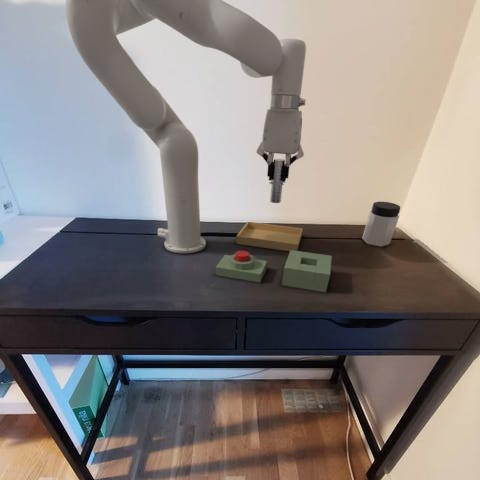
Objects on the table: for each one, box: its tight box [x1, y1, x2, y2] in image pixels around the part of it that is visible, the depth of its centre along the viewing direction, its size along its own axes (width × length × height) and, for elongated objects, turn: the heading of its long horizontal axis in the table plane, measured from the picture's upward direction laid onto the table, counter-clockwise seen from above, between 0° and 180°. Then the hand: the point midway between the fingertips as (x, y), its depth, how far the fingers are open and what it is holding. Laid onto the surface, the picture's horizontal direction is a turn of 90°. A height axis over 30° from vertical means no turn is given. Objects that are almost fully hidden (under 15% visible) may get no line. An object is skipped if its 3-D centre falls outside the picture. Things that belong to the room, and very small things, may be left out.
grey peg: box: [268, 158, 286, 204], centre depth 91 cm, size 4×4×12 cm
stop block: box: [215, 253, 268, 283], centre depth 83 cm, size 12×8×4 cm, turn 75°
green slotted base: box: [281, 250, 333, 293], centre depth 81 cm, size 11×11×5 cm
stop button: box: [234, 250, 250, 262], centre depth 81 cm, size 4×4×2 cm
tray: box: [235, 221, 304, 252], centre depth 102 cm, size 19×14×3 cm
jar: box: [361, 201, 401, 248], centre depth 101 cm, size 9×8×12 cm
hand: (277, 179), depth 91 cm, fingers closed on grey peg, 3 cm apart
